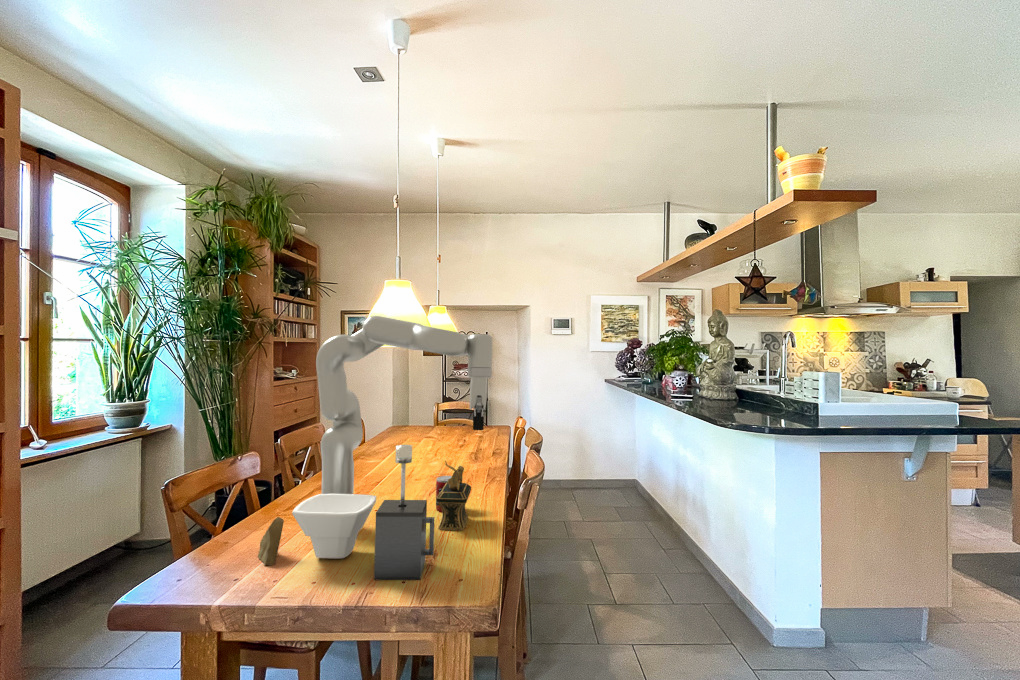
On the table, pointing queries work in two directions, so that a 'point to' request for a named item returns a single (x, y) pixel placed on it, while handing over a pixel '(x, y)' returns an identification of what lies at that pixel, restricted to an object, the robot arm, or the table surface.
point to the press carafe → (402, 540)
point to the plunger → (403, 465)
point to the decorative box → (454, 501)
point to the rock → (271, 542)
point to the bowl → (333, 521)
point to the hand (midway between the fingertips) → (478, 427)
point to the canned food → (439, 485)
